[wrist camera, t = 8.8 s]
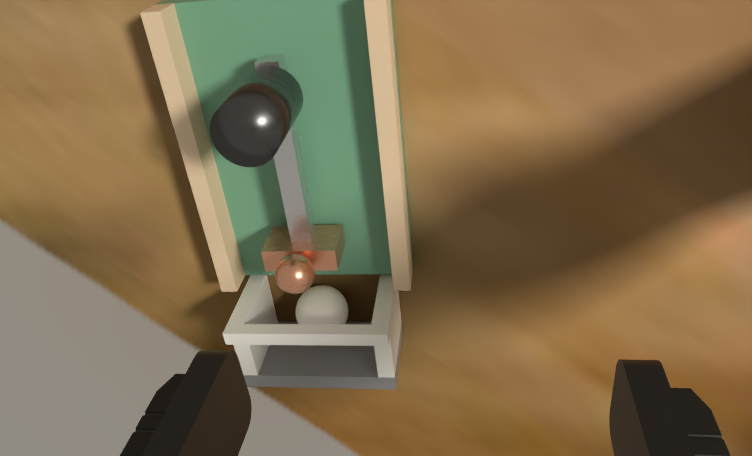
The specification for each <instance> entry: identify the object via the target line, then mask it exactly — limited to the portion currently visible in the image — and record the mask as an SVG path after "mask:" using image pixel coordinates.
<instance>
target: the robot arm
mask: <svg viewBox="0 0 752 456" xmlns="http://www.w3.org/2000/svg"><path fill="white" fill-rule="evenodd" d="M250 419H251V399H250V395H249V392H248V389H247V385H246V382H245V379H244V375H243V372H242V369H241V365H240V362H239V359H238V356H237V354H236V353H235V352H234V351H199V352H198V353H197V354H196V356H195V357H194V359H193V361H192V363H191V365H190V367H189V368H188V371H187V372H186V374H175V375H174V376H173V377H172V378H171V379H170V380H169V381H167V382H166V383H165V384H164V385H163V386H162V387H161V388H160V389H159V390H158V391H157V392H156V394H155V395H154V397H153V399H152V401H151V402H150V404H149V406H148V408H147V409H146V411H145V416H142V418H141V420H140V421H139V423H138V425H137V427H136V431H135V432H134V433H133V434H132V436H131V437H130V439H129V441H128V442H127V444H126V446H125V448H124V449H123V451H122V453H121V455H120V456H238V454H239V451H240V448H241V445H242V443H243V441H244V438H245V435H246V433H247V430H248V427H249V424H250ZM610 435H611V442H612V446H613V451H614V455H615V456H730V454H729V451H728V449H727V446H726V444H725V442H724V440H723V439H722V437H721V432H720V430H719V427H718V425H717V423H716V420H715V418H714V416H713V413H712V411H711V409H710V408H709V407H708V406H707V405H706V404H705V403H704V402H703V401H702V400H701V399H700V398H699V397H698V396H697V395H696V394H695V393H694V392H693V390H692V389H691V388H670V385H669V382H668V380H667V377H666V374H665V371H664V369H663V366H662V364H661V362H660V361H658V360H618V362H617V365H616V372H615V379H614V386H613V393H612V400H611V407H610Z"/></svg>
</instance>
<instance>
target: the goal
mask: <svg viewBox="0 0 752 456" xmlns="http://www.w3.org/2000/svg"><path fill="white" fill-rule="evenodd" d="M402 334H403V333H402V322H401V312H400V302H399V292H398V291H394V289H393V279H392V274H380V278H379V284H378V289H377V295H376V300H375V306H374V311H373V317H372V322H346V323H345V324H298V322H278V319H277V315H276V311H275V307H274V302H273V298H272V294H271V290H270V286H269V281H268V277H267V275H250V277H249V279H248V281H247V283H246V286H245V288H244V290H243V292H242V294H241V296H240V298H239V300H238V302H237V304H236V307H235V309H234V311H233V313H232V315H231V317H230V319H229V321H228V323H227V325H226V327H225V330H224V332H223V337H224V340H225V344H226V345H234V349H235V352H236V354H237V356H238V359H239V362H240V365H241V369H242V372H243V375H244V379H245V382H246V385H247V387H292V388H346V389H396V386H397V378H398V369H399V360H400V351H401V342H402Z"/></svg>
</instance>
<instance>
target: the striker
mask: <svg viewBox="0 0 752 456" xmlns="http://www.w3.org/2000/svg"><path fill="white" fill-rule="evenodd" d="M254 64H255V70H253V71H252V72H251V73H250V74H249V75H248V76H247V77H246V78H245V79H244V80H243V81H242V83H241V84H240V85H239V86H238V87H237V88H236V89H235V90H234V91H233V93H232V94H231V95H230V96H229V97H228V98H227V99H226V100H225V102H224V103H223V104H222V105H221V106H220V107H219V108H218V109H217V110H216V112H215V113H214V115H213V116H212V119H211V122H210V137H211V140H212V142H213V144H214V146H215V148H216V149H217V151H218V152H219V153H220V154H221V155H222V156H223V157H224V158H225V159H227V160H228V161H230V162H232V163H233V164H236V165H238V166H242V167H258V166H261V165H264V164H266V163H268V162H269V161H270V160H271V159H272V158H273V157H274V161H275V166H276V171H277V176H278V181H279V186H280V190H281V195H282V200H283V205H284V210H285V215H286V220H287V225H288V226H273V228H272V230H271V232H270V234H269V236H268V238H267V240H266V242H265V244H264V246H263V249H262V251H261V254H262V258H263V262H264V267H265V271H274V276H275V281H276V283H277V285H278V286H279V287H280V288H281V289H282V290H283V291H285V292H287V293H290V294H299V293H302V292H304V291H306V290H307V289H308V288H310V286H311V285H312V283H313V281H314V278H315V271H333V270H338V269H339V265H340V262H341V258H342V254H343V251H344V247H345V244H346V243H345V236H344V230H343V224H340V225H314V219H313V214H312V208H311V202H310V197H309V191H308V186H307V180H306V174H305V169H304V163H303V157H302V152H301V146H300V141H299V135H298V129H297V124H296V118H297V116H298V115H299V113H300V111H301V109H302V106H303V93H302V90H301V87H300V85H299V83H298V82H297V80H296V79H295V78H294V77H293V76H292V75H291V74H290V73H289V72H287V67H286V62H285V56H284V54H279V55H264V56H260V57H259V58H258V60H257V61H256V62H255V63H254Z"/></svg>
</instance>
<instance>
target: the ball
mask: <svg viewBox="0 0 752 456" xmlns="http://www.w3.org/2000/svg"><path fill="white" fill-rule="evenodd" d="M347 318H348V305H347V301H346V299H345V297H344V296H343V295H342V294H341V292H339V291H338V290H337V289H335V288H333V287H331V286H327V285H318V286H314V287H311V288H309V289H308V290H306V291H305V292H304V293H303V294H302V295H301V296H300V298H299V300H298V302H297V305H296V319H297V322H298V324H345V323H346V321H347Z"/></svg>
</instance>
